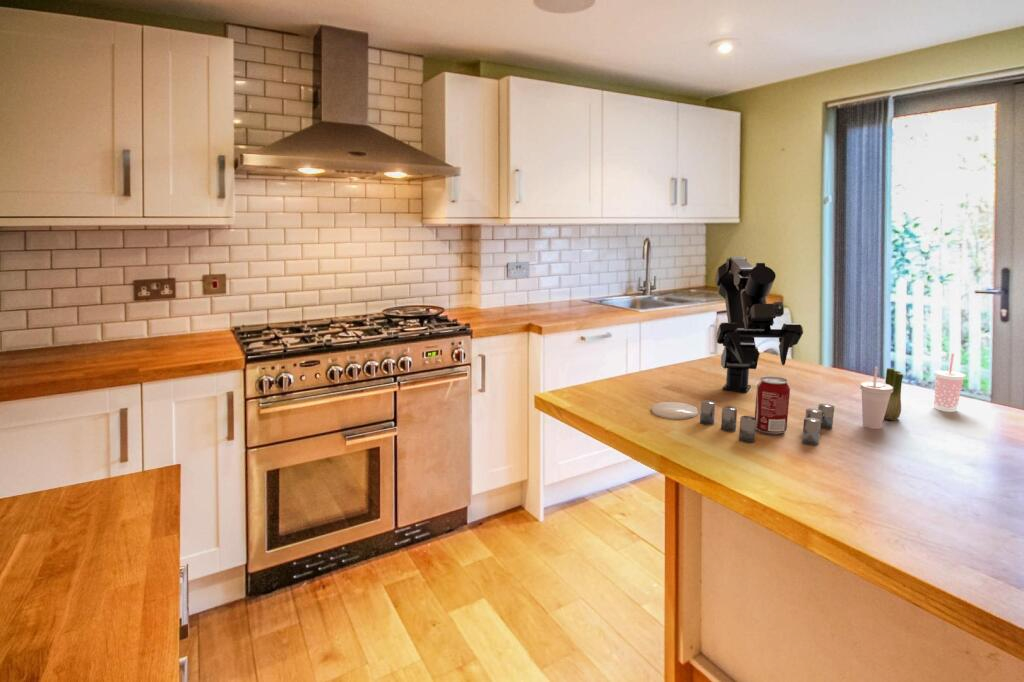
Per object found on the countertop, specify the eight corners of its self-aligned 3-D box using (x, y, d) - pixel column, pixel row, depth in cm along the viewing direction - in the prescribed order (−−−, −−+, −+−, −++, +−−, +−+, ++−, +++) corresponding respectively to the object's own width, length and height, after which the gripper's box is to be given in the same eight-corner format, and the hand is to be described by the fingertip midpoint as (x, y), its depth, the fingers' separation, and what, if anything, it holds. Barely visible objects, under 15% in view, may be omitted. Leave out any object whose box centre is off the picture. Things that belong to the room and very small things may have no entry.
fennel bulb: (899, 423, 140) (906, 373, 138) (875, 420, 143) (881, 370, 140) (899, 416, 145) (906, 367, 143) (875, 413, 148) (881, 365, 145)
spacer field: (698, 420, 144) (699, 400, 143) (829, 424, 140) (831, 403, 139) (709, 441, 131) (710, 419, 130) (853, 446, 127) (856, 424, 126)
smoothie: (849, 422, 142) (856, 363, 139) (875, 421, 142) (882, 362, 139) (867, 431, 136) (874, 371, 133) (895, 430, 136) (902, 370, 133)
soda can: (789, 437, 133) (794, 384, 131) (756, 435, 134) (760, 383, 132) (782, 426, 140) (786, 376, 137) (751, 424, 141) (754, 374, 138)
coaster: (659, 402, 158) (659, 399, 158) (702, 409, 152) (702, 406, 152) (645, 414, 149) (645, 411, 149) (690, 422, 143) (690, 418, 143)
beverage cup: (933, 403, 155) (940, 349, 152) (962, 408, 150) (970, 353, 148) (927, 408, 150) (934, 353, 148) (957, 414, 146) (965, 357, 143)
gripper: (721, 289, 145) (727, 344, 137) (804, 289, 142) (815, 346, 134) (713, 316, 154) (719, 369, 146) (791, 317, 152) (801, 371, 143)
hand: (763, 364), depth 142 cm, fingers open, 9 cm apart
